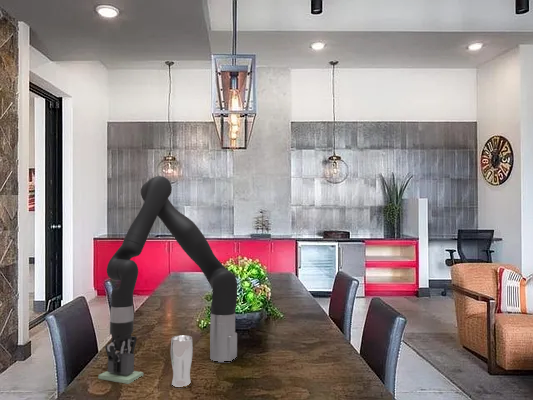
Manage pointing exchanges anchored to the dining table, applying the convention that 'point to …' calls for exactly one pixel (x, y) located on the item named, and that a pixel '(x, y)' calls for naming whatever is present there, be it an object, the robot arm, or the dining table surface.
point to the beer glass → (181, 359)
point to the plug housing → (124, 364)
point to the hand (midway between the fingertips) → (121, 370)
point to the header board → (120, 377)
